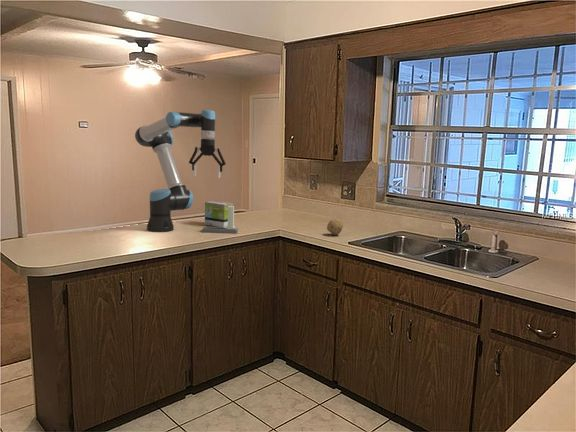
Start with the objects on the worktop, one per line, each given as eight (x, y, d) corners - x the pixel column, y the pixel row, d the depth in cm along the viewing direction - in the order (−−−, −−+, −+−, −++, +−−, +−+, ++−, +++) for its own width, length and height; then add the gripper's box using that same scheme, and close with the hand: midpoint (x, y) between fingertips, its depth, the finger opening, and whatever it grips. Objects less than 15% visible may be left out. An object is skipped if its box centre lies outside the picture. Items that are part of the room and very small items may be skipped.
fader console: (202, 232, 271) (202, 228, 271) (204, 230, 277) (204, 226, 277) (236, 233, 271) (236, 230, 271) (237, 231, 277) (237, 228, 276)
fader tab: (225, 228, 272) (226, 206, 269) (226, 227, 276) (227, 205, 273) (234, 229, 272) (234, 207, 269) (235, 228, 275) (235, 206, 273)
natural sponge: (329, 237, 271) (330, 220, 269) (324, 234, 279) (325, 217, 278) (344, 236, 273) (345, 220, 272) (338, 233, 282) (339, 217, 280)
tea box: (204, 225, 293) (204, 201, 290) (213, 223, 302) (214, 200, 299) (223, 228, 286) (224, 204, 283) (233, 225, 295) (233, 202, 292)
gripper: (183, 137, 255) (183, 176, 259) (229, 139, 255) (228, 178, 259) (186, 137, 263) (186, 175, 266) (231, 139, 262) (230, 177, 266)
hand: (207, 177), depth 262 cm, fingers open, 13 cm apart
